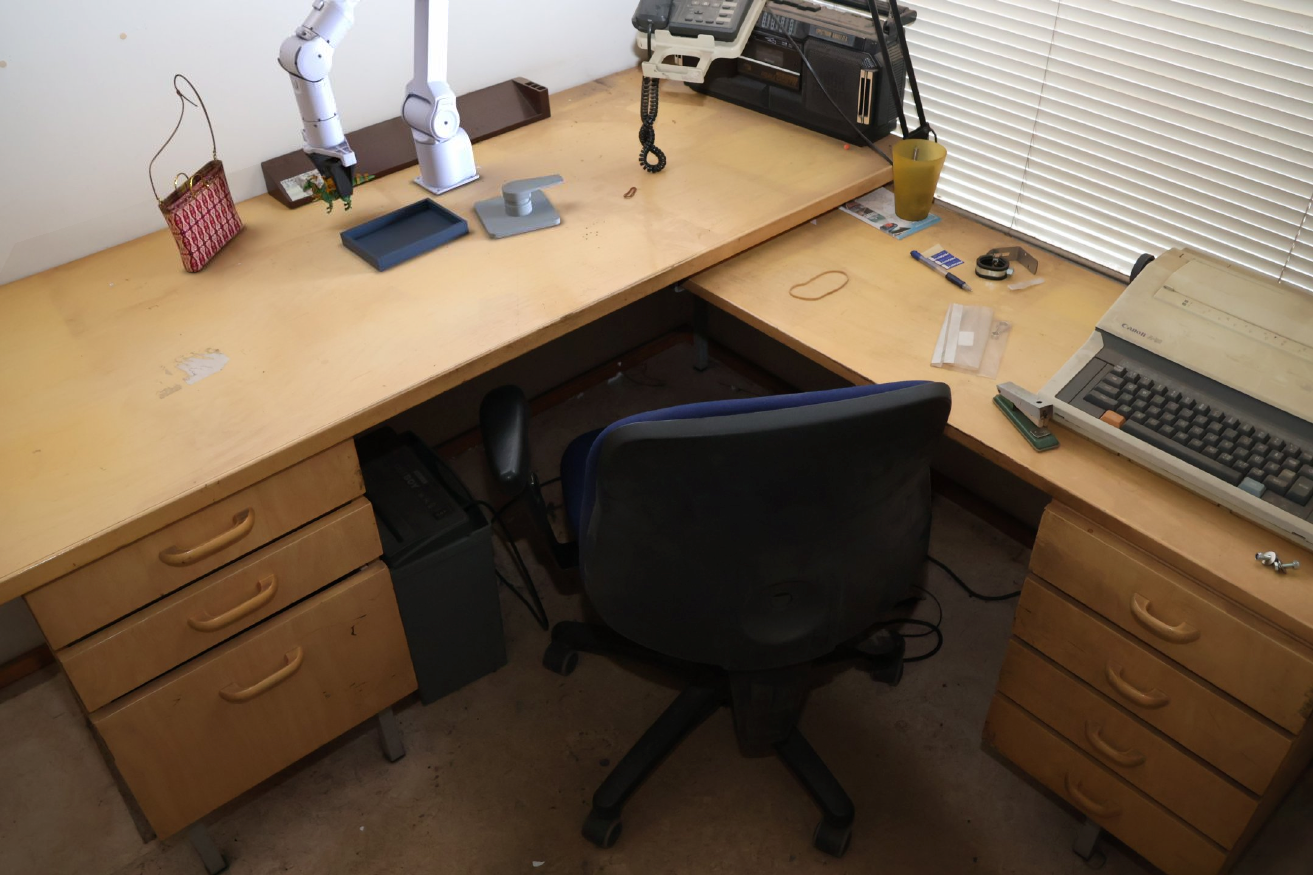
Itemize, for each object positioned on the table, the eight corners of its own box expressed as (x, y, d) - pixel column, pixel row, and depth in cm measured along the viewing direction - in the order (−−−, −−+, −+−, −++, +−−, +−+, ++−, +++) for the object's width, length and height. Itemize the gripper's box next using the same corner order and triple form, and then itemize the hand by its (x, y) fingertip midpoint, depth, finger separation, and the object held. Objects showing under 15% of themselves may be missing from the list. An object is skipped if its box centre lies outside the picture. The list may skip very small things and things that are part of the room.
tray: (430, 209, 176) (427, 197, 175) (469, 233, 169) (467, 220, 168) (342, 245, 168) (339, 232, 166) (379, 271, 161) (376, 259, 159)
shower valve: (573, 191, 167) (485, 210, 163) (576, 220, 171) (490, 240, 167) (551, 161, 176) (467, 179, 172) (554, 190, 180) (473, 208, 176)
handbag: (261, 214, 177) (214, 73, 161) (197, 276, 162) (139, 127, 146) (223, 211, 179) (174, 72, 162) (157, 273, 163) (95, 125, 147)
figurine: (309, 210, 172) (296, 166, 166) (380, 197, 174) (369, 153, 169) (310, 218, 170) (297, 174, 164) (382, 205, 172) (371, 161, 167)
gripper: (276, 110, 163) (299, 186, 172) (318, 135, 155) (340, 214, 164) (315, 97, 167) (336, 172, 176) (358, 121, 158) (378, 199, 167)
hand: (340, 192), depth 170 cm, fingers closed on figurine, 3 cm apart
